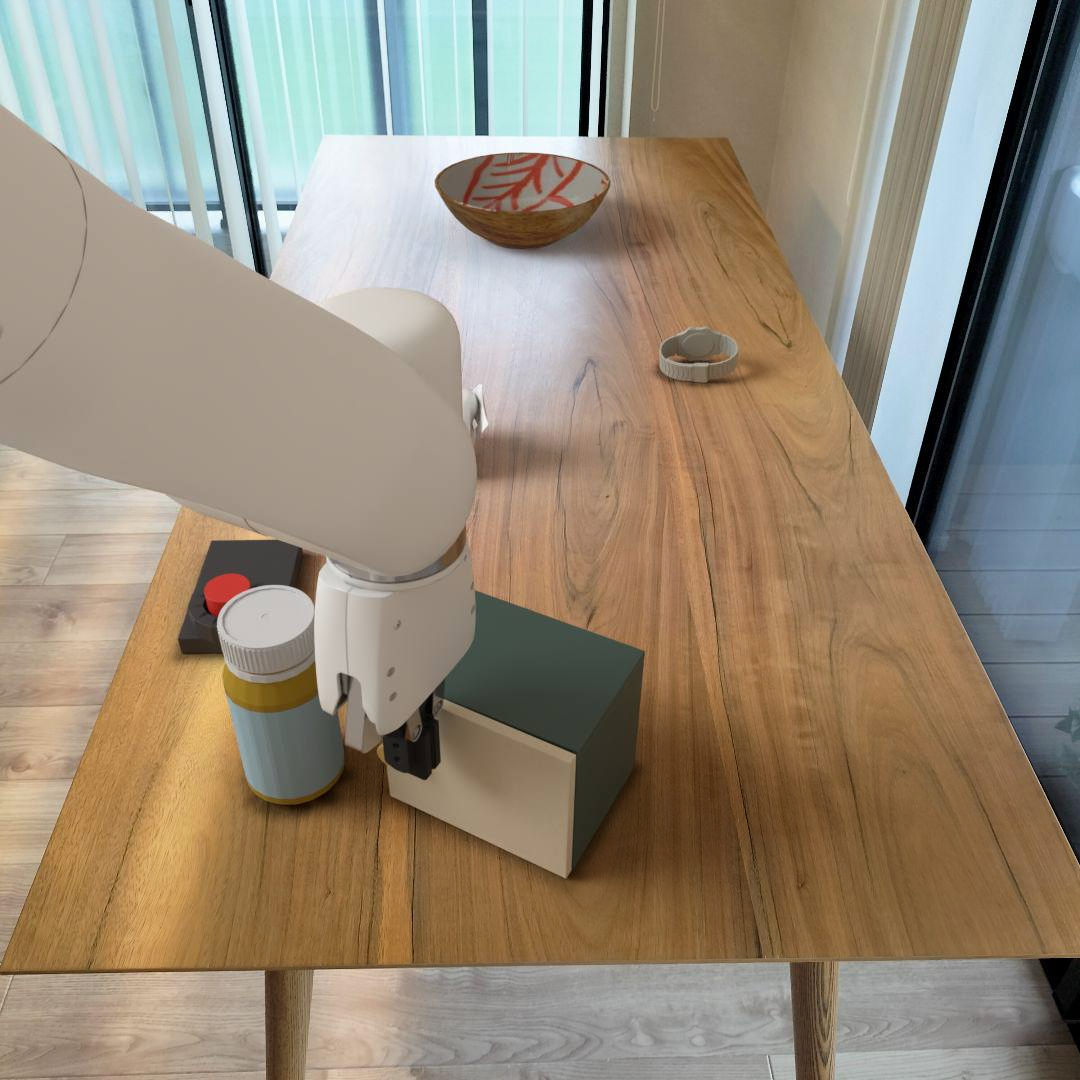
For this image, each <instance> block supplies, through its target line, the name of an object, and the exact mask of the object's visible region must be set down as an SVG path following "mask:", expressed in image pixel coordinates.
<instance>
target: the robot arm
mask: <svg viewBox="0 0 1080 1080" xmlns="http://www.w3.org/2000/svg"><path fill="white" fill-rule="evenodd" d="M454 317H455V316H454V315H453V314H452V312H450V310H449V309H448V308H447V307H446V306H445V305H444V304H443V303H442V302H440V301H439V300H437V299H436V298H434V297H432V296H430V295H428V294H426V293H423V292H420V291H416V290H412V289H407V288H400V287H388V286H386V287H385V286H381V287H378V286H377V287H366V288H364V287H363V288H357V289H353V290H349V291H344V292H341V293H339V294H335V295H333V296H330V297H329V298H327V299H325V300H324V301H322V302H320V303H319V304H316V303H314V302H312V301H310V300H309V299H306V298H305V297H303V296H301V295H299V294H298V293H296V292H293V291H291V290H290V289H288V288H286V287H284V286H282V285H280V284H278V283H277V282H275V281H273V280H271V279H270V278H268V277H266V276H264V275H262V274H260V273H259V272H257V271H255V270H254V269H252V268H251V267H249V266H247V265H245V264H243V263H242V262H240V261H238V260H237V259H236V258H234V257H232V256H230V255H229V254H227V253H225V252H223V251H222V250H221V249H219V248H217V247H215V246H213V245H212V244H210V243H208V242H206V241H204V240H202V239H201V238H200V237H197V236H195V235H194V234H192V233H190V232H188V231H186V230H185V229H182V228H181V227H179V226H177V225H174V224H173V223H171V222H169V221H167V220H165V219H164V218H163V219H162V218H161V217H159V216H157V215H156V214H153V213H152V212H149V211H147V210H145V209H144V208H142V207H140V206H138V205H137V204H135V203H133V202H132V201H130V200H129V199H127V198H125V197H123V196H122V195H121V194H119V192H117V191H115V190H114V189H112V188H111V187H110V186H108V185H107V184H106V183H104V182H103V181H101V179H99V178H97V176H95V175H94V174H92V173H91V172H90V171H88V170H87V169H85V168H84V167H83V166H82V165H80V164H79V163H78V162H77V161H75V160H74V159H73V158H71V157H70V156H69V155H67V154H66V153H65V152H63V151H62V150H61V149H60V148H58V146H56V145H54V144H53V143H52V142H50V141H49V139H47V138H45V137H44V136H43V135H41V134H40V133H39V132H38V131H37V130H35V129H34V128H32V127H31V126H30V125H28V124H27V122H25V121H23V120H22V119H21V118H19V117H18V116H17V115H16V114H14V113H13V112H12V111H11V110H9V109H8V108H7V107H6V106H4V105H3V104H1V103H0V445H2V446H6V447H9V448H12V449H15V450H17V451H20V452H22V453H24V454H27V455H30V456H33V457H36V458H38V459H41V460H45V461H47V462H50V463H53V464H56V465H58V466H61V467H63V468H67V469H70V470H73V471H75V472H79V473H83V474H86V475H89V476H93V477H97V478H101V479H104V480H108V481H112V482H116V483H119V484H124V485H128V486H131V487H136V488H141V489H144V490H148V491H152V492H156V493H160V494H164V495H165V496H166V497H168V498H169V499H171V500H172V501H174V502H175V503H177V504H179V505H181V506H182V507H183V508H184V507H185V509H189V510H191V511H193V512H196V513H198V514H200V515H203V516H206V517H208V518H211V519H214V520H217V521H220V522H222V523H225V524H228V525H232V526H235V527H238V528H240V529H243V530H246V531H250V532H252V533H256V534H259V535H261V536H265V537H268V538H271V539H273V540H280V541H283V542H286V543H289V544H292V545H295V546H298V547H301V548H302V550H303V549H304V550H307V551H309V552H313V553H316V554H318V555H320V556H321V555H322V556H324V557H325V564H324V565H323V566H322V568H321V569H320V570H319V572H318V577H317V583H316V590H315V602H314V606H315V618H314V640H315V663H316V676H317V686H318V694H319V700H320V704H321V707H322V709H323V711H325V712H327V713H329V714H331V715H334V714H335V713H336V712H337V711H338V712H339V710H340V709H341V708H343V706H344V705H345V704H347V705H346V718H345V730H344V745H345V746H344V747H347V748H348V749H351V750H354V751H356V752H358V753H360V754H363V755H365V754H368V753H369V752H370V751H371V750H372V749H374V748H375V747H377V746H378V745H380V744H381V743H382V742H383V750H384V759H385V761H386V763H387V764H389V765H390V766H391V767H392V768H394V769H395V770H397V771H400V772H402V773H409V774H411V775H413V776H415V777H418V778H420V779H422V780H427V779H428V777H429V776H430V775H431V774H432V769H436V767H437V766H438V765H439V764H440V763H441V756H440V737H439V720H436V719H434V717H437V716H438V715H439V714H440V712H441V710H442V708H443V704H444V689H445V677H446V676H447V675H448V674H449V673H450V671H451V670H452V669H453V668H454V667H455V666H456V664H457V663H458V662H459V661H460V660H461V658H462V657H463V656H464V655H465V653H466V652H467V650H468V649H469V647H470V645H471V643H472V641H473V639H474V634H475V619H476V605H475V590H476V589H475V588H476V587H475V577H474V570H473V562H472V555H471V549H470V543H469V538H468V534H467V522H468V519H469V517H470V515H471V513H472V509H473V505H474V502H475V498H476V491H477V486H478V465H477V456H476V451H475V446H474V447H473V443H472V439H471V436H470V434H469V431H468V429H467V426H466V424H465V422H464V420H463V404H462V388H463V376H462V375H463V373H462V346H461V335H460V330H459V328H458V325H457V321H456V319H455V318H454Z"/></svg>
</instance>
